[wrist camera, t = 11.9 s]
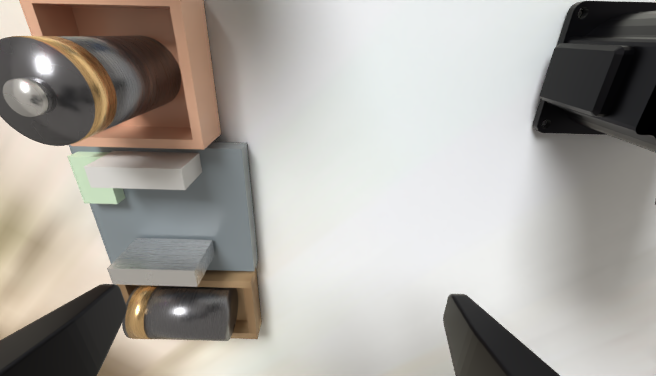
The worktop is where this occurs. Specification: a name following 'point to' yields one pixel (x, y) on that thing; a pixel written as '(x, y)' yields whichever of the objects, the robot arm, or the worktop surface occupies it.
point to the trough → (247, 298)
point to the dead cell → (82, 83)
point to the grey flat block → (171, 197)
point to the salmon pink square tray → (170, 30)
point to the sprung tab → (162, 262)
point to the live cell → (181, 313)
